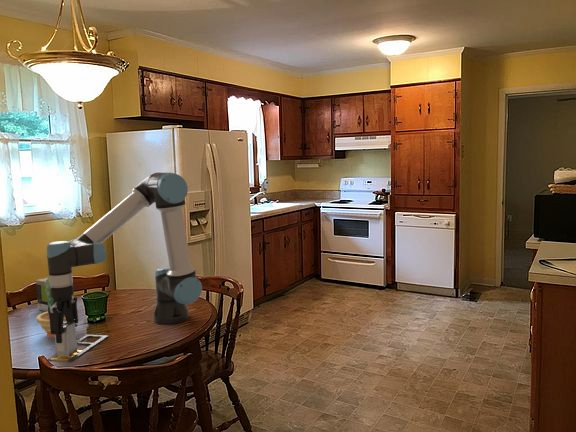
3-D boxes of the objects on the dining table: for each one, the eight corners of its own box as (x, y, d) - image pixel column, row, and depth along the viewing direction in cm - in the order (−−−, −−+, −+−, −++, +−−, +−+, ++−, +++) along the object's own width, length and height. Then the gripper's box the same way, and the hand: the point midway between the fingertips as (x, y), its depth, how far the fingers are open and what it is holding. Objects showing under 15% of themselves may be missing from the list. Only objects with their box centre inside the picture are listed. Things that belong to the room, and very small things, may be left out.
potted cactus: (82, 334, 197) (77, 274, 194) (40, 343, 189) (34, 280, 186) (75, 324, 210) (71, 267, 207) (35, 331, 202) (30, 273, 199)
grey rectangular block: (77, 351, 178) (75, 321, 177) (68, 356, 173) (66, 326, 172) (65, 350, 179) (62, 321, 178) (56, 356, 174) (53, 326, 173)
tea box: (75, 308, 232) (73, 278, 230) (55, 314, 224) (53, 283, 222) (57, 304, 240) (54, 275, 238) (37, 309, 232) (34, 279, 230)
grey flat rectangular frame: (108, 336, 194) (108, 335, 194) (71, 361, 171) (71, 360, 171) (86, 335, 196) (86, 334, 196) (47, 360, 173) (47, 359, 173)
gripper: (67, 278, 182) (72, 338, 185) (34, 291, 165) (40, 357, 168) (85, 278, 181) (90, 338, 184) (54, 292, 163) (60, 358, 166)
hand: (66, 347), depth 176 cm, fingers closed on grey rectangular block, 5 cm apart
